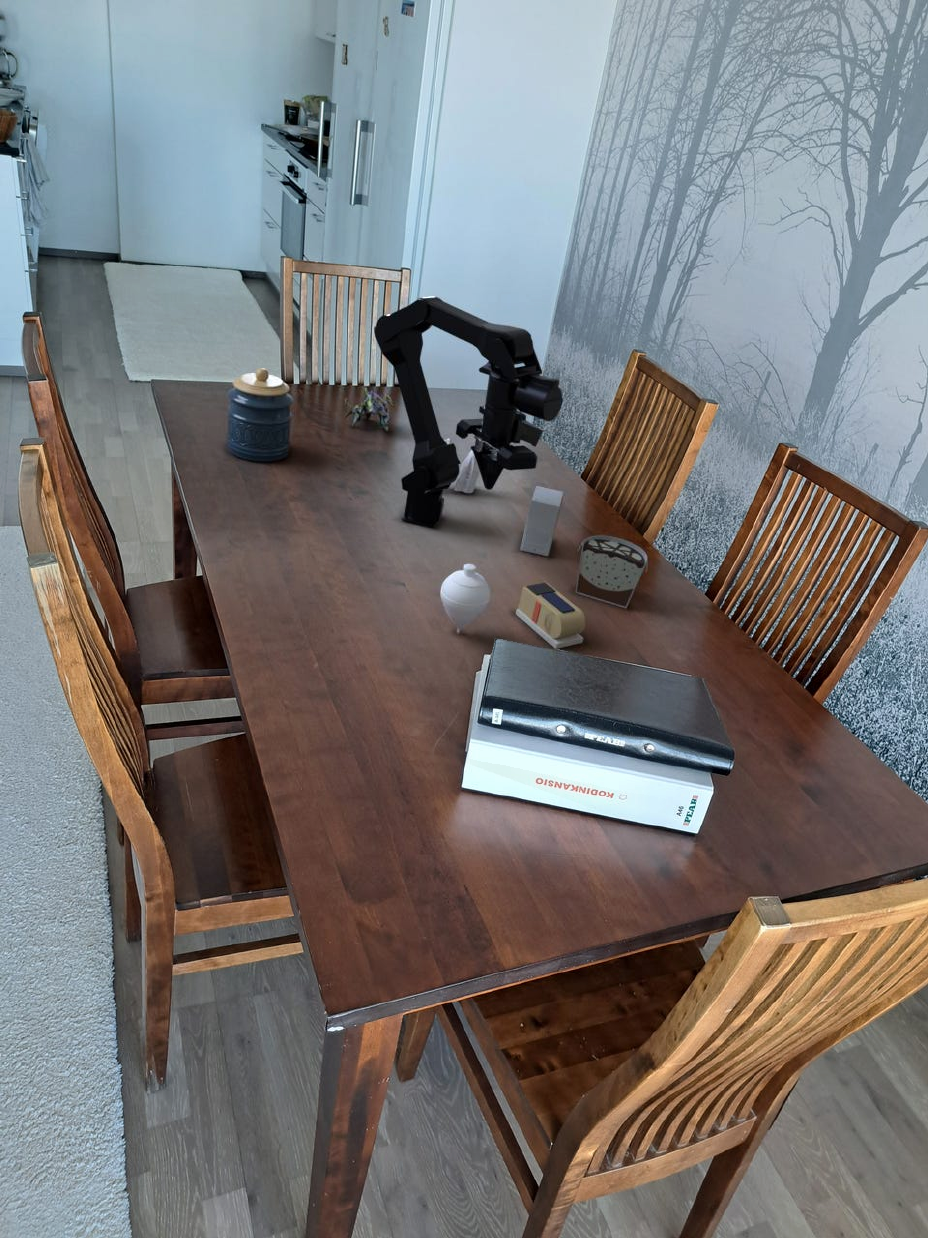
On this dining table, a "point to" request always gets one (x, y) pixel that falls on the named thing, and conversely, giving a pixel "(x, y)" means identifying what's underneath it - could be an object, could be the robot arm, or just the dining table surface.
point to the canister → (259, 417)
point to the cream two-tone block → (551, 615)
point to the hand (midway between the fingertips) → (488, 488)
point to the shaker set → (467, 473)
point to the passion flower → (372, 408)
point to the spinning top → (464, 596)
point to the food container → (610, 569)
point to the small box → (541, 521)
